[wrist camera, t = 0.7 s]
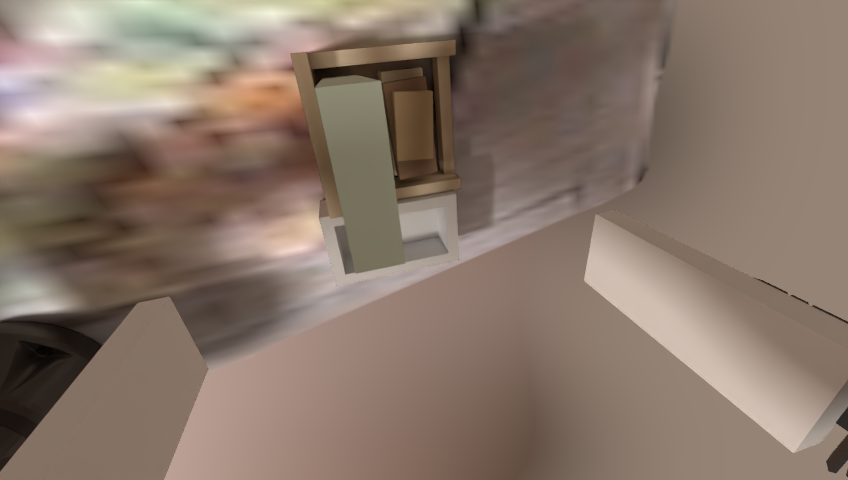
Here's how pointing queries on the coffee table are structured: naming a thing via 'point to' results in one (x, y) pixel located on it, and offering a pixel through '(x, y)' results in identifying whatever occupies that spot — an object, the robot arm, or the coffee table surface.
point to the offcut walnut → (402, 167)
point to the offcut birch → (392, 76)
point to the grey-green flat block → (362, 168)
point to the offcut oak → (413, 124)
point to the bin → (421, 234)
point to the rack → (338, 58)
